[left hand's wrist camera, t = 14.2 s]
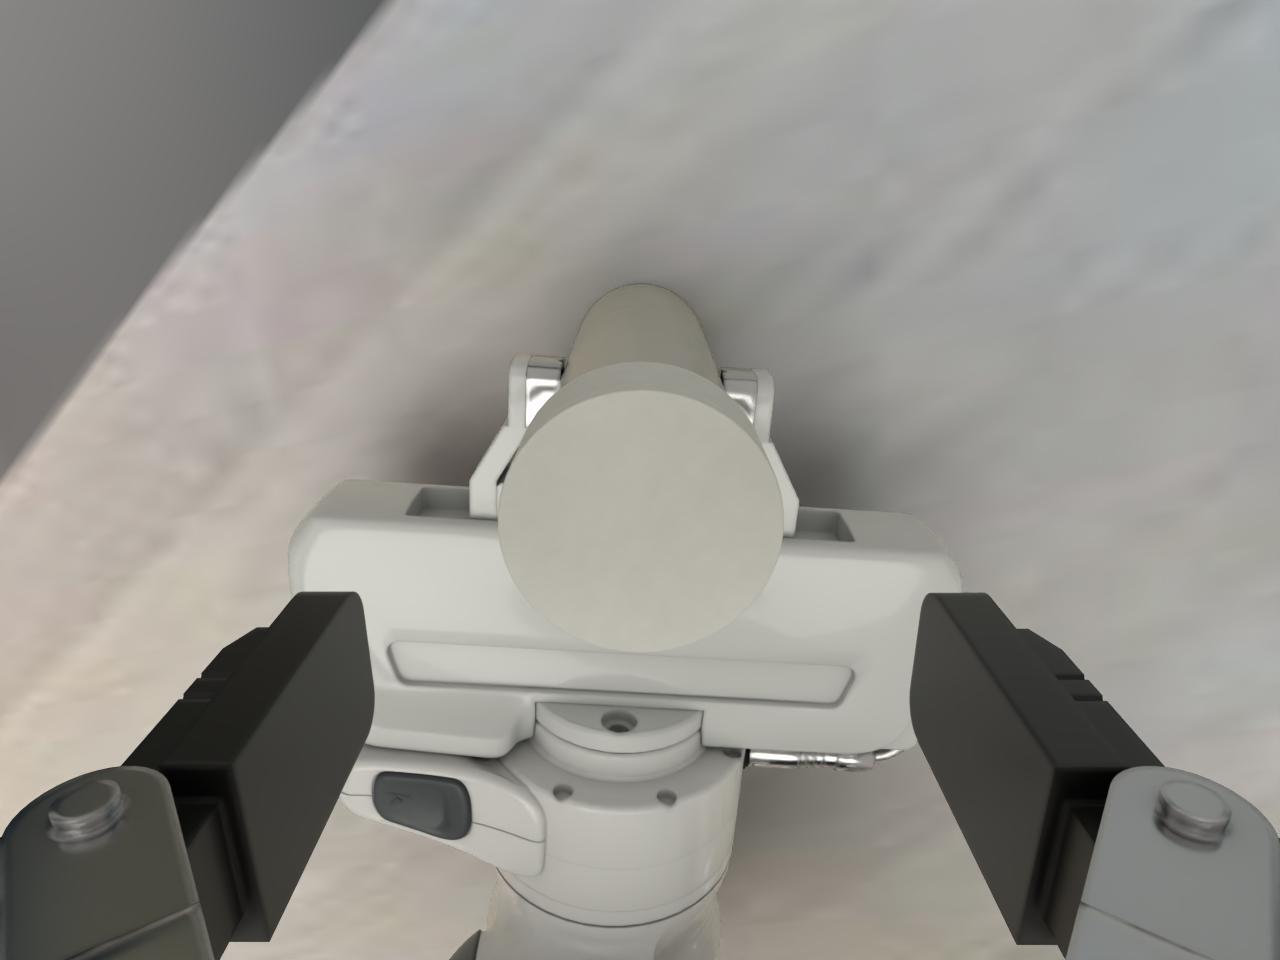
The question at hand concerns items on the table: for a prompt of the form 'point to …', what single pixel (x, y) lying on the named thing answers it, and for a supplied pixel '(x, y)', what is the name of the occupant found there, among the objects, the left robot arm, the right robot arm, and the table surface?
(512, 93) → the table surface
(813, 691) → the right robot arm
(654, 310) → the cylinder
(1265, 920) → the left robot arm
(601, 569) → the lid
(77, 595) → the table surface
